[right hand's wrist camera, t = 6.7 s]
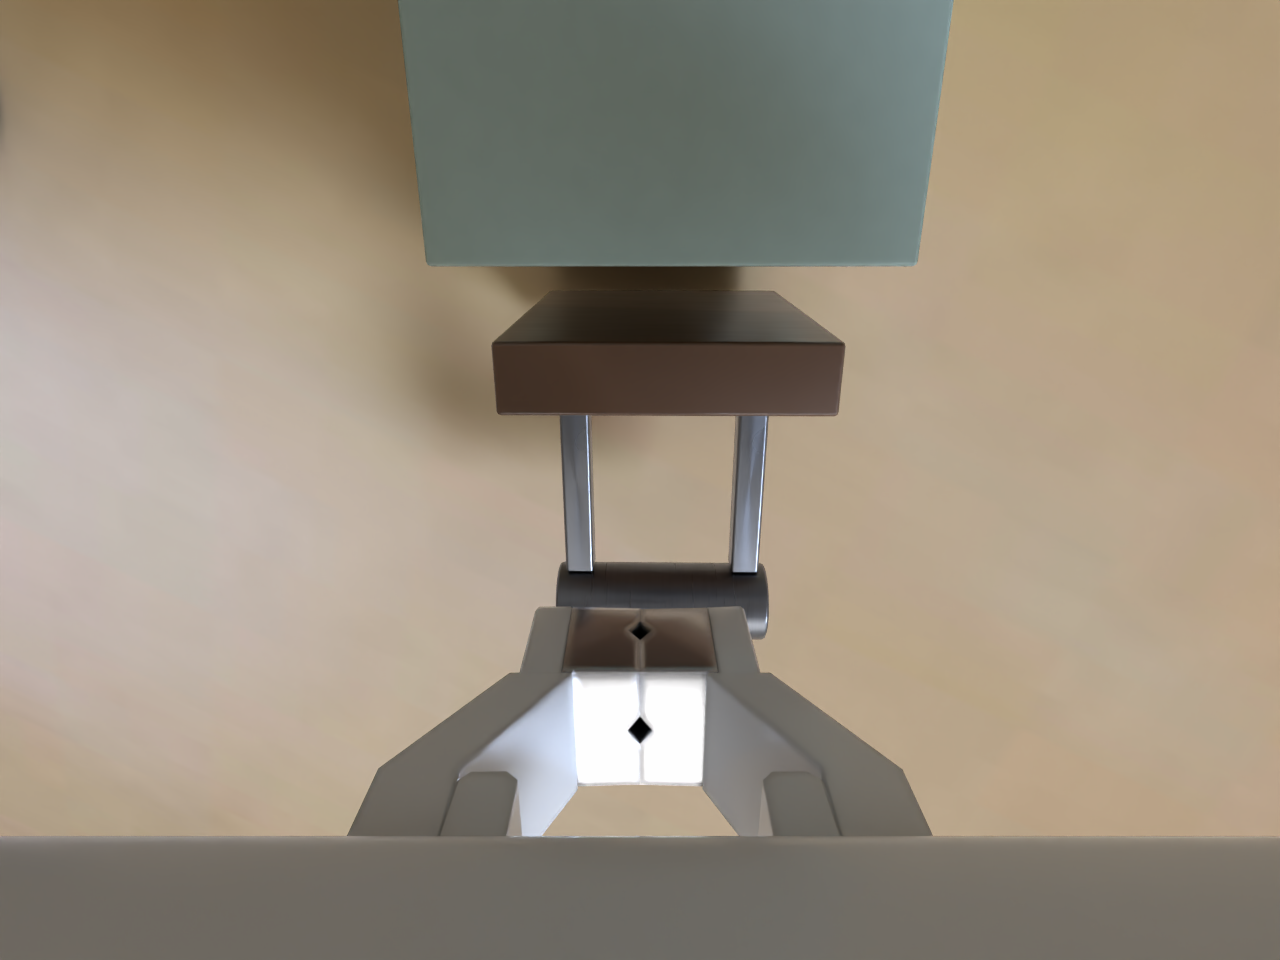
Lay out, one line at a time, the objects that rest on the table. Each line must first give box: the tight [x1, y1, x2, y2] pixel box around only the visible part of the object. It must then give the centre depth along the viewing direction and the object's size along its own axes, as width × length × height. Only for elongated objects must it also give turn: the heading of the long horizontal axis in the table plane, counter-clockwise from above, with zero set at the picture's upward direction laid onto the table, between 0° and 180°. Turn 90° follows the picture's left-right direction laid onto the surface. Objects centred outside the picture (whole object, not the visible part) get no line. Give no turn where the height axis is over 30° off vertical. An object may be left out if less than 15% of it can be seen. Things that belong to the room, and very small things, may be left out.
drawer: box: [492, 291, 845, 639], centre depth 12 cm, size 23×6×7 cm, turn 0°
